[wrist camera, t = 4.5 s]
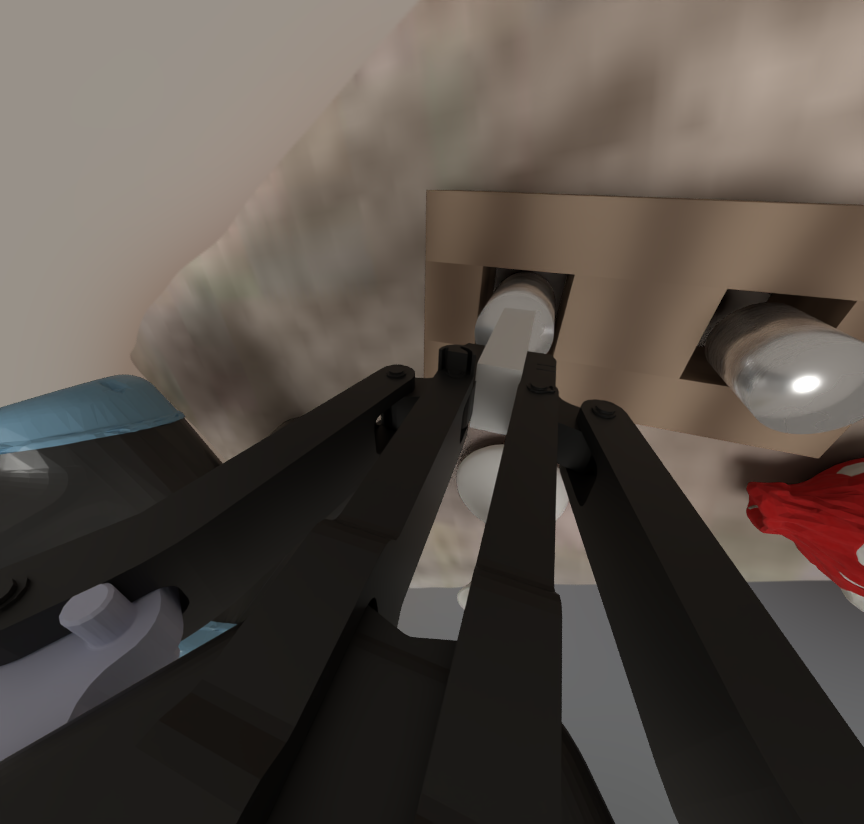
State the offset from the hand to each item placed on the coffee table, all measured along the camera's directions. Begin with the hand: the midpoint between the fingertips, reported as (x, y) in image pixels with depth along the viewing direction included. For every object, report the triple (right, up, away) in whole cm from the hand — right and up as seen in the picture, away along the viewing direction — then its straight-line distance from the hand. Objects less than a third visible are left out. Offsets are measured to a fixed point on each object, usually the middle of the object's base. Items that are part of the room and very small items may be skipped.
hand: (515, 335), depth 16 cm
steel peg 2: (+13, 0, +1) cm, 13 cm away
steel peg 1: (+2, +3, +5) cm, 6 cm away
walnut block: (+9, +4, +6) cm, 11 cm away
